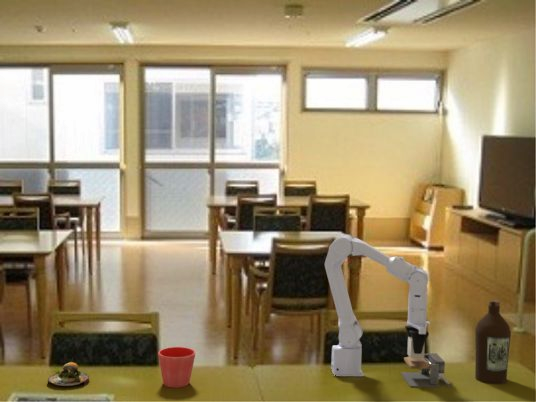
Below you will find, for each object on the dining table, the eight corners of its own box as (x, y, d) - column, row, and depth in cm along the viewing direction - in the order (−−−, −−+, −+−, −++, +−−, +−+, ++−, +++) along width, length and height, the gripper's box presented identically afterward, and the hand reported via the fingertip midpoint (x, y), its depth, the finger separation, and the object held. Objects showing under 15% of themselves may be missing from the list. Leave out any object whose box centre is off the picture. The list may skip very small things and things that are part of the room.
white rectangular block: (410, 357, 214) (411, 340, 214) (407, 354, 219) (408, 336, 218) (424, 358, 215) (424, 340, 214) (420, 354, 219) (421, 336, 218)
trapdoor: (410, 373, 212) (410, 361, 212) (403, 364, 221) (404, 352, 221) (444, 373, 213) (444, 361, 212) (436, 364, 222) (436, 353, 221)
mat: (410, 387, 210) (410, 385, 210) (400, 373, 223) (400, 372, 223) (439, 387, 211) (439, 386, 211) (428, 373, 224) (428, 372, 224)
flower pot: (188, 391, 203) (188, 358, 202) (152, 387, 205) (153, 355, 204) (199, 379, 213) (199, 348, 212) (165, 376, 215) (165, 345, 215)
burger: (39, 385, 205) (39, 360, 205) (68, 374, 216) (68, 350, 215) (69, 392, 200) (69, 367, 199) (97, 381, 210) (98, 356, 210)
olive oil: (467, 374, 224) (471, 297, 222) (498, 373, 226) (502, 297, 224) (482, 385, 214) (485, 305, 212) (514, 384, 215) (518, 304, 213)
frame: (430, 386, 211) (431, 364, 211) (420, 374, 223) (421, 353, 223) (450, 386, 212) (451, 364, 211) (439, 374, 223) (440, 353, 223)
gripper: (436, 313, 208) (435, 358, 209) (424, 303, 223) (422, 344, 224) (413, 313, 208) (411, 357, 209) (402, 302, 223) (400, 344, 224)
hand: (415, 351), depth 216 cm, fingers closed on white rectangular block, 4 cm apart
